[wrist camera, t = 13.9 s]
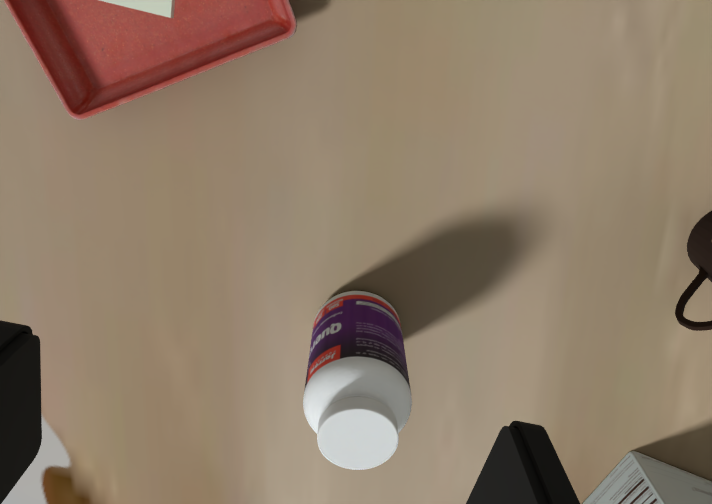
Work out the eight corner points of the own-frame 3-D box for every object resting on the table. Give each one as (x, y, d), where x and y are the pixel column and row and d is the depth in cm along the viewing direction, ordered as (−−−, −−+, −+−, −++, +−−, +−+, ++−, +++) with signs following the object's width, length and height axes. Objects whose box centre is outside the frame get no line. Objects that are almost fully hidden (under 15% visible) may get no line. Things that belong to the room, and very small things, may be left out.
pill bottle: (331, 273, 45) (322, 376, 32) (414, 302, 46) (437, 413, 33) (302, 344, 48) (281, 464, 35) (379, 369, 49) (388, 495, 36)
